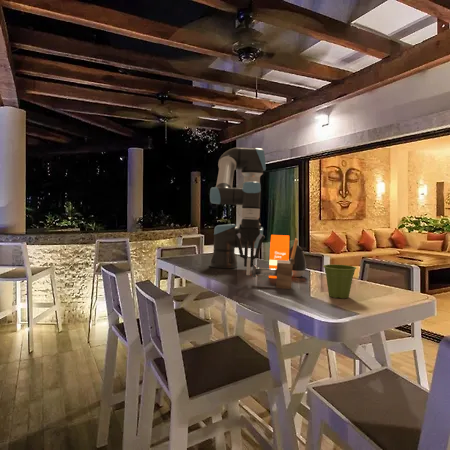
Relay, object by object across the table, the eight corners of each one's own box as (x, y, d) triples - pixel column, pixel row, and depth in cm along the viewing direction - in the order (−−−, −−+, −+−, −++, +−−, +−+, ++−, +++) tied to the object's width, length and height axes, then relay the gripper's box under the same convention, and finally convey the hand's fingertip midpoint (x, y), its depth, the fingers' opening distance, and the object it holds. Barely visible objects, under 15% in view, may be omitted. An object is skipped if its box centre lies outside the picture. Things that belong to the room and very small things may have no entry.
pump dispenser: (300, 279, 167) (301, 246, 167) (280, 276, 173) (281, 244, 173) (309, 276, 175) (310, 245, 175) (290, 273, 182) (291, 243, 181)
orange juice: (287, 279, 166) (289, 236, 165) (268, 277, 168) (270, 235, 167) (288, 276, 174) (289, 235, 173) (269, 275, 175) (271, 234, 175)
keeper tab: (294, 238, 152) (297, 238, 152) (289, 260, 153) (292, 260, 153) (295, 239, 144) (298, 240, 144) (290, 262, 145) (293, 263, 145)
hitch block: (276, 283, 155) (277, 255, 155) (292, 284, 154) (293, 256, 154) (276, 288, 145) (277, 258, 144) (293, 289, 144) (294, 259, 143)
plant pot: (329, 291, 142) (330, 263, 142) (359, 296, 135) (361, 266, 134) (316, 296, 133) (317, 266, 133) (348, 302, 125) (349, 270, 125)
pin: (253, 276, 154) (253, 264, 154) (292, 278, 151) (293, 266, 151) (252, 278, 149) (253, 265, 149) (293, 280, 146) (293, 268, 146)
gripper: (234, 218, 148) (231, 275, 149) (265, 219, 146) (263, 277, 147) (236, 218, 155) (234, 272, 156) (266, 219, 153) (264, 274, 154)
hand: (248, 274), depth 151 cm, fingers closed
